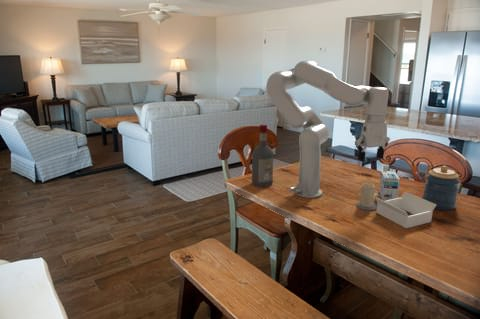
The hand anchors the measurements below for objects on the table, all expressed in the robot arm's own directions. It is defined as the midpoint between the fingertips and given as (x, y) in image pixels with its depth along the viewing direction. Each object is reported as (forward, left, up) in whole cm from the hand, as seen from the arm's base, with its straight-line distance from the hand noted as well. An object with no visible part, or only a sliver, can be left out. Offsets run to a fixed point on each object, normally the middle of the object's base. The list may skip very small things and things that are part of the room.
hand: (370, 159), depth 151 cm
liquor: (-29, +42, -21) cm, 55 cm away
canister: (+29, -12, -21) cm, 38 cm away
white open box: (+5, -15, -21) cm, 26 cm away
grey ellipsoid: (-1, -1, -21) cm, 21 cm away
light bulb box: (+16, +4, -21) cm, 27 cm away
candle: (-1, -1, -20) cm, 20 cm away
